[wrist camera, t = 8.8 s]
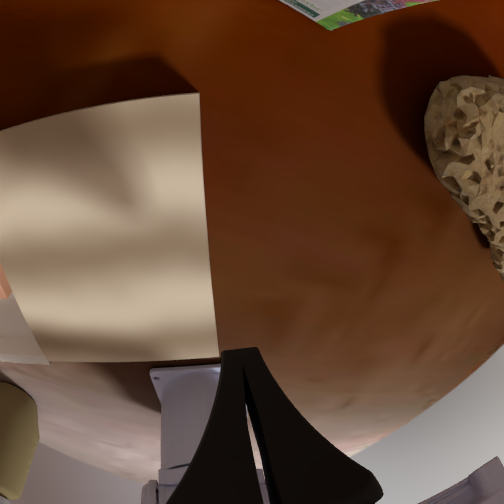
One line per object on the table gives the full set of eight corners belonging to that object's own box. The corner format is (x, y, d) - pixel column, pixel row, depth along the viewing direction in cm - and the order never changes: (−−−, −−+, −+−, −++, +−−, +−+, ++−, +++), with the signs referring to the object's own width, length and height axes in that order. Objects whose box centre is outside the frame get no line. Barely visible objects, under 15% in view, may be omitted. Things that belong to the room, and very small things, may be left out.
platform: (216, 326, 23) (218, 356, 21) (57, 333, 22) (47, 360, 19) (199, 92, 15) (198, 93, 13) (-5, 131, 14) (-32, 143, 11)
